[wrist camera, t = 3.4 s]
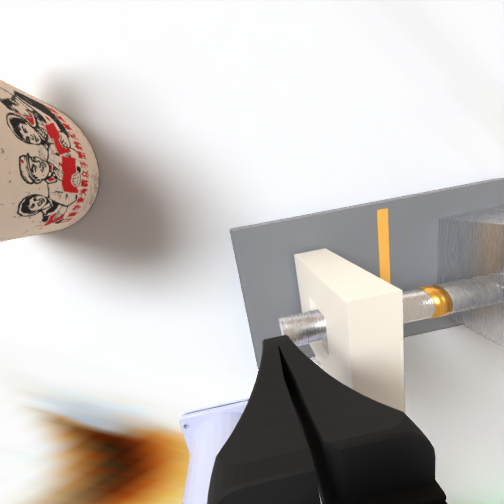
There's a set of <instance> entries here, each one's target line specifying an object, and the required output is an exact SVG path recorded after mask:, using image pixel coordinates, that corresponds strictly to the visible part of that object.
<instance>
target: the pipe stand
mask: <svg viewBox="0 0 504 504" xmlns="http://www.w3.org/2000/svg"><path fill="white" fill-rule="evenodd" d="M402 293H403V324H404V323H408V322H413V321H418V320H422V319H427V318H428V319H431V318H436V317H441V316H448V317H450V318H452V319H454V320H455V321H457V322H459V323H461V324H463V325H464V326H466V327H468V328H470V329H472V330H474V331H475V332H477V333H479V334H481V335H483V336H484V337H486V338H488V339H490V340H492V341H493V342H495V343H497V344H499V345H501V346H503V347H504V206H497V207H492V208H486V209H481V210H476V211H471V212H466V213H461V214H456V215H451V216H445V217H440V218H438V259H437V285H429V286H425V287H420V288H416V289H414V290H409V291H405V292H402ZM278 322H279V328H280V333H281V336H282V335H287V336H289V338H290V339H291V340H292V341H293V342H294V344H295V345H296V346H301V345H305V344H310V343H315V342H319V341H324V340H327V331H326V322H325V316H324V315H323V314H322V312H321V311H320V310H319V309H318V310H313V311H308V312H303V313H298V314H294V315H289V316H284V317H279V318H278Z"/></svg>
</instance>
